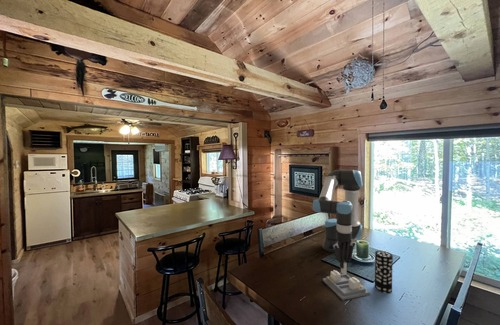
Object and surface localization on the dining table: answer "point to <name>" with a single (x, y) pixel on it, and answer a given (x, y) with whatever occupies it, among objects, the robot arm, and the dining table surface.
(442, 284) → the dining table surface
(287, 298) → the dining table surface
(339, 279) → the tab
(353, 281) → the tab
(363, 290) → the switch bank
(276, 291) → the dining table surface
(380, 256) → the spotted tube
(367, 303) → the dining table surface
